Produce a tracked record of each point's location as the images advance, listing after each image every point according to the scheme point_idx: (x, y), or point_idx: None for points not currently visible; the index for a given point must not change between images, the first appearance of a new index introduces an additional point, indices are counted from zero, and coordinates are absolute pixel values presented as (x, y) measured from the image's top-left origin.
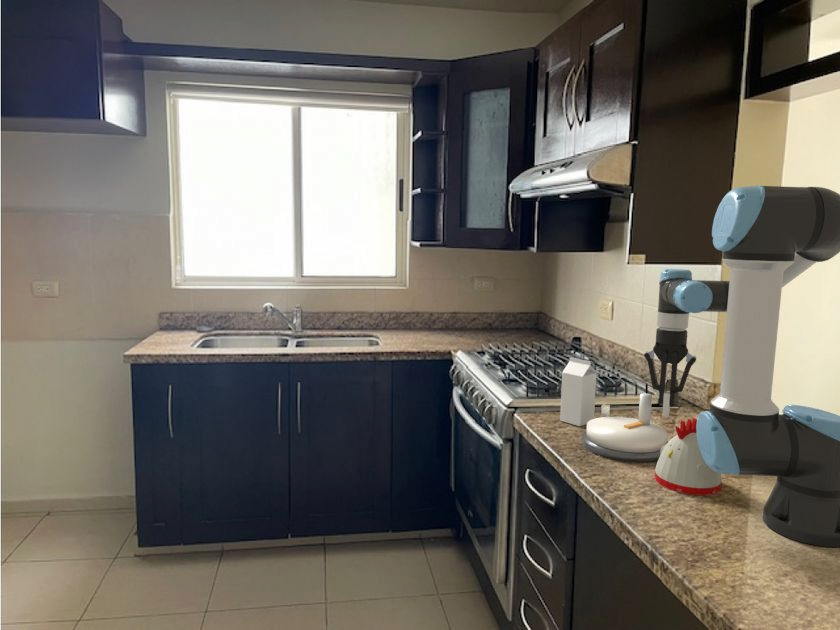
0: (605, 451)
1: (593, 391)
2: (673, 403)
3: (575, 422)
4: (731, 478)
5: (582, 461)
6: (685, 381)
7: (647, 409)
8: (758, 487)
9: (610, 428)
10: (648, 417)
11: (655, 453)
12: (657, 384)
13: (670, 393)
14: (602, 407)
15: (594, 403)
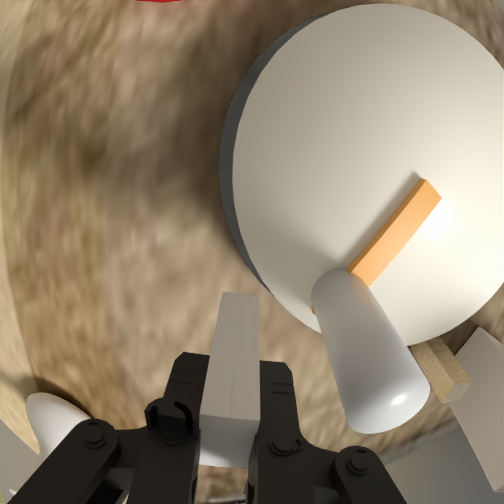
0: None
1: (481, 438)
2: (179, 360)
3: (489, 335)
4: (57, 23)
5: (483, 20)
6: (17, 495)
7: (355, 317)
8: (19, 10)
9: (482, 162)
10: (332, 295)
11: (286, 39)
12: (325, 500)
13: (191, 406)
14: (467, 377)
15: (457, 415)
